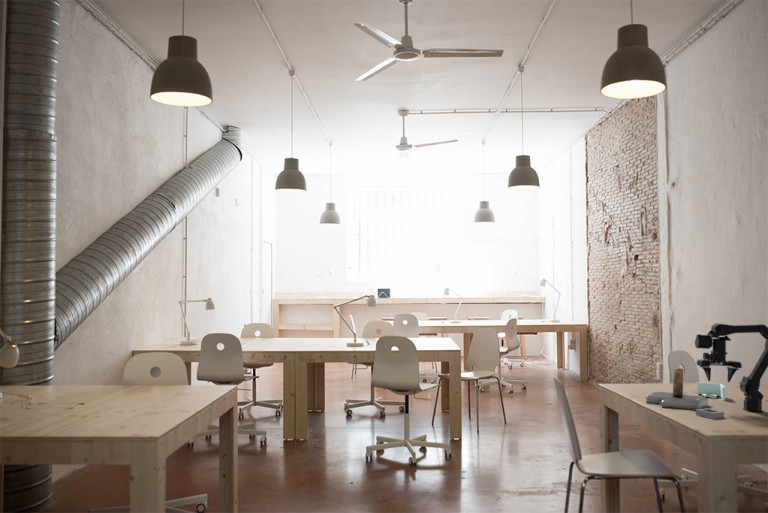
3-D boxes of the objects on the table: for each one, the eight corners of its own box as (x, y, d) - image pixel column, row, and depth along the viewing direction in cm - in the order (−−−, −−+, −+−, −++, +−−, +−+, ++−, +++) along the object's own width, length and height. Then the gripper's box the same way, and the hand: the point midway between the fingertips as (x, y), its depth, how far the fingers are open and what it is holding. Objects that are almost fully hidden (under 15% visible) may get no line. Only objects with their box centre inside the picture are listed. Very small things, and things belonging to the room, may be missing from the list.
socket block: (707, 413, 273) (707, 408, 273) (724, 417, 266) (724, 411, 266) (696, 415, 270) (696, 409, 270) (712, 418, 262) (712, 413, 263)
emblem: (679, 388, 311) (722, 399, 285) (679, 398, 311) (722, 410, 284) (634, 389, 304) (673, 401, 277) (633, 400, 304) (673, 412, 277)
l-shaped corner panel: (696, 395, 322) (696, 381, 322) (721, 397, 317) (721, 383, 318) (699, 399, 311) (699, 385, 311) (725, 401, 306) (725, 387, 307)
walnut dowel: (684, 395, 293) (684, 368, 294) (680, 396, 290) (681, 369, 291) (675, 393, 297) (675, 367, 297) (671, 394, 294) (672, 368, 294)
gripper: (730, 348, 294) (730, 379, 294) (691, 346, 296) (691, 377, 295) (742, 351, 283) (742, 383, 283) (702, 349, 285) (701, 381, 284)
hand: (718, 381), depth 286 cm, fingers open, 9 cm apart
